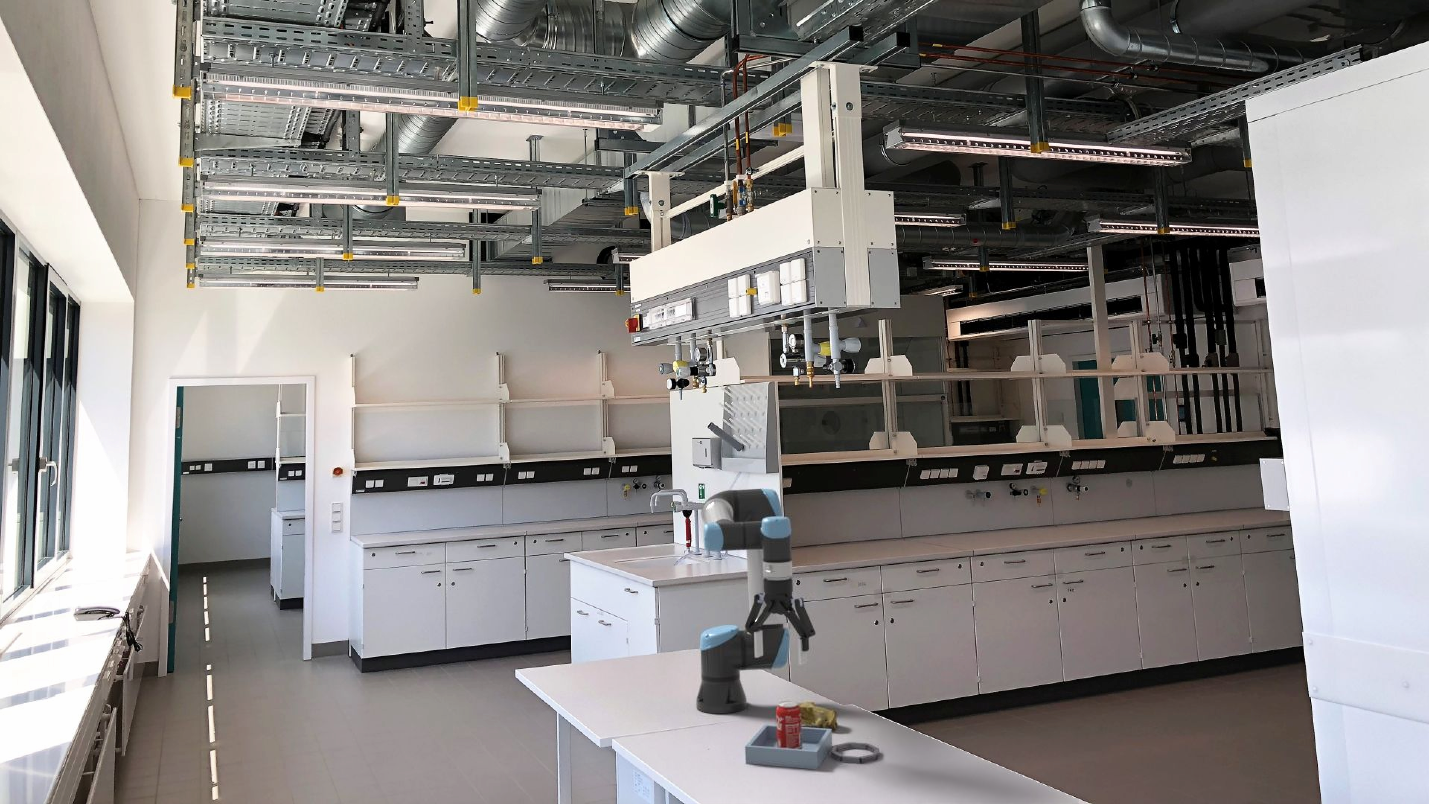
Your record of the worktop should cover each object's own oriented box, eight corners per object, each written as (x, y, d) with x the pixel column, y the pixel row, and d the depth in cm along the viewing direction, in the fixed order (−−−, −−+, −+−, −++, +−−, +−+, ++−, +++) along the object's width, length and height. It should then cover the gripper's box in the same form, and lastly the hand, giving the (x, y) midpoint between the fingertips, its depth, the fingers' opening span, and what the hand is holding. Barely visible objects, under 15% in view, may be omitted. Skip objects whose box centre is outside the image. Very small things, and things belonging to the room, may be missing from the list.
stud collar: (836, 745, 239) (836, 741, 239) (881, 749, 236) (881, 744, 236) (827, 760, 229) (827, 755, 229) (874, 764, 225) (874, 759, 225)
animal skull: (779, 723, 260) (779, 699, 260) (833, 722, 261) (833, 698, 261) (783, 736, 250) (783, 711, 250) (840, 734, 251) (840, 709, 251)
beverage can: (787, 745, 239) (785, 698, 239) (807, 750, 235) (805, 702, 235) (772, 752, 234) (770, 704, 234) (793, 757, 230) (791, 708, 230)
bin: (765, 740, 246) (764, 724, 246) (832, 745, 240) (831, 729, 240) (745, 763, 229) (745, 746, 229) (817, 769, 223) (816, 751, 223)
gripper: (730, 575, 244) (733, 656, 244) (811, 584, 229) (814, 670, 228) (747, 571, 250) (749, 650, 250) (827, 579, 235) (829, 663, 234)
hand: (780, 660), depth 239 cm, fingers open, 13 cm apart
